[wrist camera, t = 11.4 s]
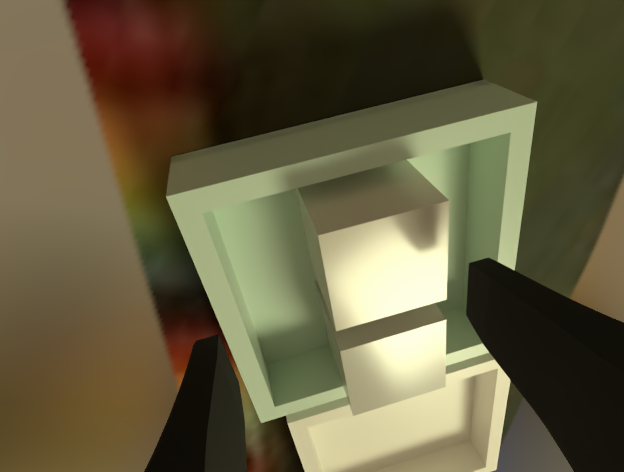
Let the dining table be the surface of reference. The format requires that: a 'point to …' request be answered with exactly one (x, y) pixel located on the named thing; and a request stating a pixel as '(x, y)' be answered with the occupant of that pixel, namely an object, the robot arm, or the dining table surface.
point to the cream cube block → (389, 356)
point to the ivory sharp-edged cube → (376, 242)
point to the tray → (412, 427)
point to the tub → (291, 239)
